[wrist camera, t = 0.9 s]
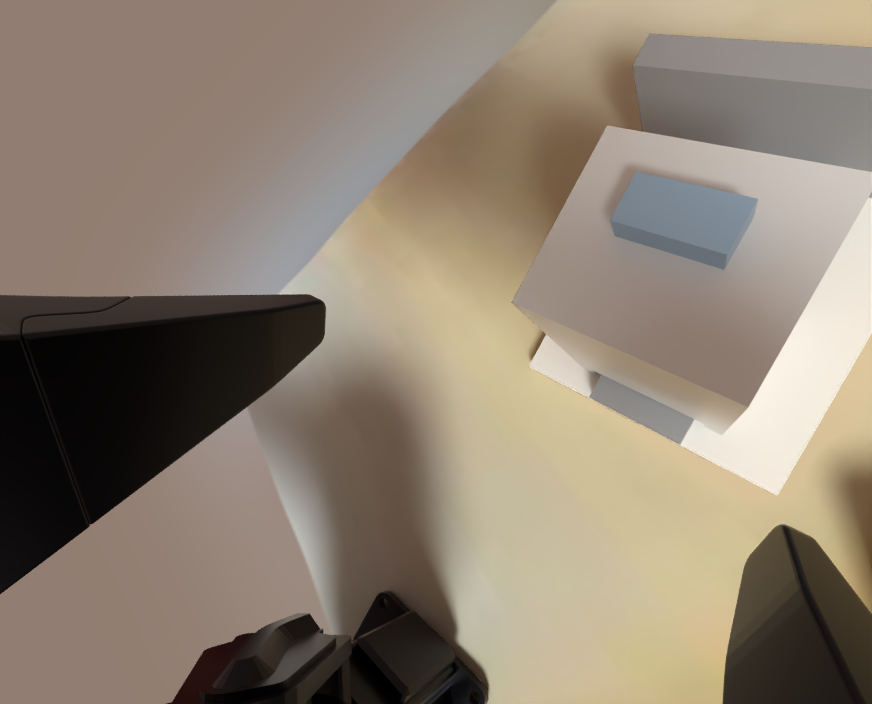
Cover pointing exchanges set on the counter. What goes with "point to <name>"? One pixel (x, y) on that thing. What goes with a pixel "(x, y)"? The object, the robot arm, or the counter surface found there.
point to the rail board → (778, 135)
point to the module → (688, 265)
